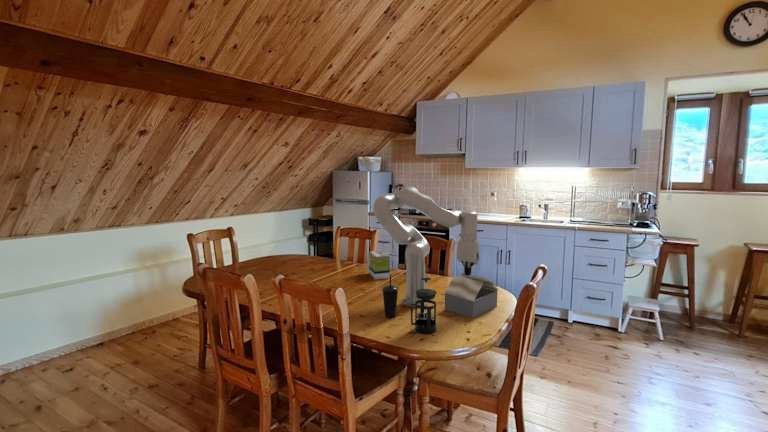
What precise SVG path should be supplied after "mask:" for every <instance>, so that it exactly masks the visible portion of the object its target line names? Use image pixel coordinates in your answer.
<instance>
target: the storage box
mask: <svg viewBox="0 0 768 432" xmlns="http://www.w3.org/2000/svg"><path fill="white" fill-rule="evenodd" d="M496 307H498V291H497V290H493V289H488V288H484V287H481V289H480V290H479V292H478V294H477V296H476V298H475V300H474V301H470V300H466V299H463V298H459V297H455V296H452V295H448V294H445V293H444V310H446V311H448V312H451V313H454V314H458V315H462V316H465V317H467V318H471V319H475V318H476V317H478V316H480V315H482V313H483V314H484V312H485V313H487V312H489V311H491V310H493V309H495V308H496ZM486 311H487V312H486Z"/></svg>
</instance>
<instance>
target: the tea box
mask: <svg viewBox="0 0 768 432" xmlns="http://www.w3.org/2000/svg"><path fill="white" fill-rule="evenodd" d="M390 258H391V257H390V254H388V253H386V252H385V251H384V250H374V251H368V274H369V275H370V276H371V277H372V278H373V279H374V280H387V279H390V275H391V269H390V268H391V266H390V265H391V264H390V263H391V262H390V261H391V259H390Z"/></svg>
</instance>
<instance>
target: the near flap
mask: <svg viewBox="0 0 768 432" xmlns="http://www.w3.org/2000/svg"><path fill="white" fill-rule="evenodd" d="M482 285H483V282H481V281H477V280H472V279H468V278H464V277H463V276H460V275H459V276H458V275H453V278H452V279H451V280H450V283H449V284H448V286H447V288H446V290H445V291H444V295H445V294H448V295H452V296H455V297H459V298H463V299H466V300H470V301H474V300H475V298H476V296H477V294H478V292H479V290H480V289H481V287H482Z"/></svg>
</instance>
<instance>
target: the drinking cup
mask: <svg viewBox="0 0 768 432" xmlns="http://www.w3.org/2000/svg"><path fill="white" fill-rule="evenodd" d="M381 289H382V296H383V298H382V299H383V307H384V317H385V318H386V319H395V318H396V317H397V316H396V314H397V304H398V303H397V302H398V292H399V287H398V286H396V285H393V284H392V274H390V278H389V284H388V285H385V286H382V287H381Z"/></svg>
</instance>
